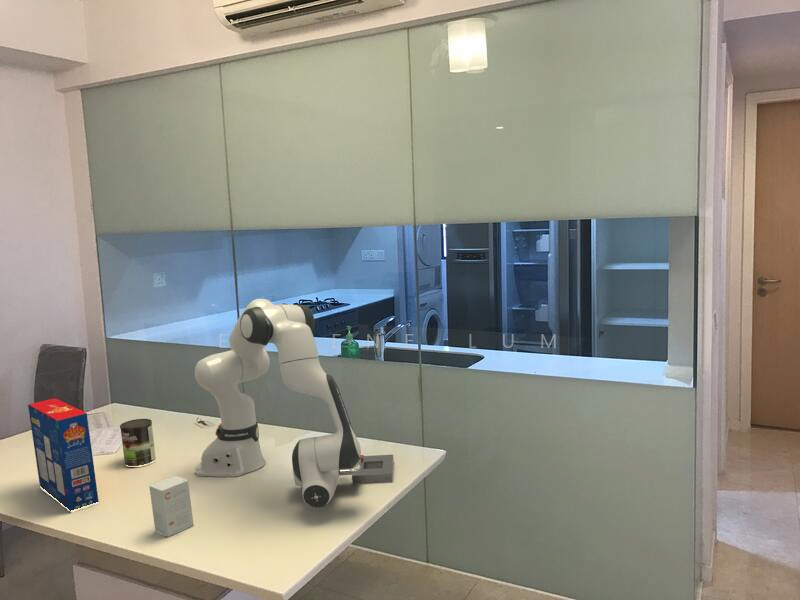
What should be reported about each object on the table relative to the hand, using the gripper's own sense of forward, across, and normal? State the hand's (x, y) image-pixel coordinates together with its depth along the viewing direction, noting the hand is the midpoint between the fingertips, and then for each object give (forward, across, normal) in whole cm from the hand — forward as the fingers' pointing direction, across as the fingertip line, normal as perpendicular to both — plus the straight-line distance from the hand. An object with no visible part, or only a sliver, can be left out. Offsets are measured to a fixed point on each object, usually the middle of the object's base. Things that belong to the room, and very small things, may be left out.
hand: (329, 455), depth 209 cm
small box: (-29, +39, +7) cm, 49 cm away
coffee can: (+23, +69, +7) cm, 73 cm away
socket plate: (+2, -13, +7) cm, 15 cm away
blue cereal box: (-3, +81, +7) cm, 81 cm away
